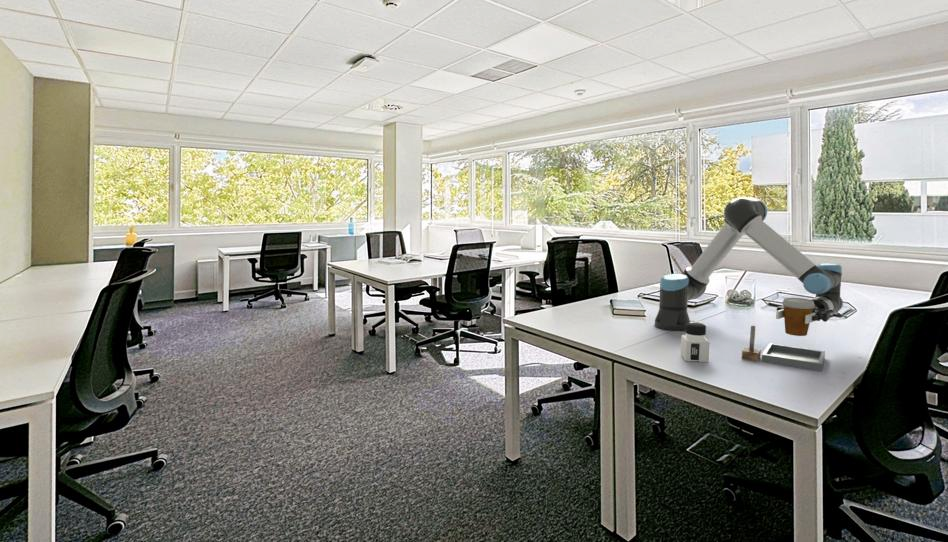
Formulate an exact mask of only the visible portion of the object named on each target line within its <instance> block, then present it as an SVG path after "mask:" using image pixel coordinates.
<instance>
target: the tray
mask: <svg viewBox="0 0 948 542" xmlns="http://www.w3.org/2000/svg"><path fill="white" fill-rule="evenodd" d="M825 355H826V351H825V350H818V349H811V348H804V347H797V346H790V345H786V344H785V345H783V344H778V343H770V342H769V343H768V345H767V346H766V347H765V349H764V351H763V352H762V355H761V362H762V363H768V364H775V365H778V366H779V365H780V366H786V367H792V368H799V369H802V370H803V369H804V370H808V371H809V370H810V371H817V372H822V371H823V366H824V362H825V357H826V356H825Z"/></svg>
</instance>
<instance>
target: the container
mask: <svg viewBox="0 0 948 542" xmlns="http://www.w3.org/2000/svg"><path fill="white" fill-rule="evenodd" d="M706 334H707V326H706V325H705V324H704V323H702V322H694V321H690V323H687V324H686V330H685V334H682V335H681V336H680V337H681V340H680V356H681V358H683V361H685V362H689V361H699V362H698V363H709V362H710V360H709V359H710V346H711V345H710V344H711V343H710V340H708V339H707V338H706V336H707V335H706Z"/></svg>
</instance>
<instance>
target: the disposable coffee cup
mask: <svg viewBox="0 0 948 542" xmlns="http://www.w3.org/2000/svg"><path fill="white" fill-rule="evenodd" d="M781 303H782V306H783V307H784V317H783V318H784V331H785V333H786V334H787V335H790V336H795V337H806V336H807V335H808V332H809V327H810V324H811V323H808V324H806V323H805V317H806V315H808V314H811V313H812V311H813V308H814V306H815V304H814V301H812V300H810V299H809V298H803V297H802V298H801V297H786V298H783V301H781Z"/></svg>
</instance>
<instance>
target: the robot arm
mask: <svg viewBox="0 0 948 542" xmlns="http://www.w3.org/2000/svg"><path fill="white" fill-rule="evenodd" d="M766 205H767V204H766V203H765V202H764V201H763V200H761V199H759V198H756V197H753V196H751V197H750V196H749V197H737V198H733V199H731V200H729V201H728V203H727V204H726V205H725V207H724V210H723V216H724V219H723V226H722V227H721V228H720V230H719V231H718V232H717V233H716V235H715V236H714V237H713V239H712V240H711V242H709V244H708V245H707V246H706V248H704V250H703V251H702V253H701V254H700V255H699V257H698V258H697V259H696V260H695V262H694V263H693V264H692V266H686V268H685V269H684V270H683V272H682V273H669V274H665V275H663V276H662V277H661V278H660V281H659V282H660V283H659V287H660V288H659V306H658V307H659V308H658V312H657V314H656V316H655V319H654V326H655V327H657V328H658V327H659V329H661V328H662V330H666V329H668V330H669V331H686V324H687V323H690V322H691V319H690V316H689V313H688V301H691V300H696V299H698V298H701V296H703V295H704V294H705V292H706V290H707V286H708V284H709V283H710V277H711V275H712V274H713V273H714V272H715V271H716V269H717V268H718V267H719V265H720V264H721V262H723V260H724V259H725V258H726V257H727V256H728V254H729V253H730V252H731V250H732V249H733V248H735V246H736V245H737V243H738V242H739V241H740V239H741V238H742V237H743V236H745V235H746V236H747V237H748V238H750V240H752V241H753V242H754V243H755V244H757V246H759V247H760V248H761V249H762V250H764V251H765V252H766V253H767V254H768V255H769V256H770V257H772V259H774V260H775V261H776V262H778V263H779V264H780V265H781V266H782V267H784V268H785V270H786V271H788V272H789V273H790V274H791V275H792V276H794V277H795V278H796V279H797V280H799V281H800V283H802V284H803V285H802V286H803V288H804V290H805V291H806V292H807V293H810V294H813V295H815V297H814V298H811V299H809V300H812V301H814V304H815V306H814V308H813V311H812V313H811V314H808V315H806V317H805V323H806V324H808V323H810V324H811V323H813V322H820V321H821V320H822V322H824V323H826V322H827V321H829V320H830V318H833V317H834V314H836V313H838V312H840V310H842V308H843V306H844V300H843V299H842V297H841V286H842V275H843V271H842V269H843V268H842V265H841V264H839V263H820V264H818V265H816V263H814V262H813V261H811V259H809V258H808V257H807V256H806V255H804V254H803V253H802V252H801V251H800V250H798V249H797V248H796V247H795V246H793V244H791V243H790V242H789V241H787V240H786V239H785V238H784V237H783V236H781V234H779V233H778V232H777V231H776V230H774V229H773V228H772V227H770V226H769V224H767V223H766V222H765V221H764V220H766V218H767V215H768V208H767V206H766ZM775 315H776V316H775V319H777V320H780V319H782V318H784V307H783V305H782V306H777V307H776V312H775Z"/></svg>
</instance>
